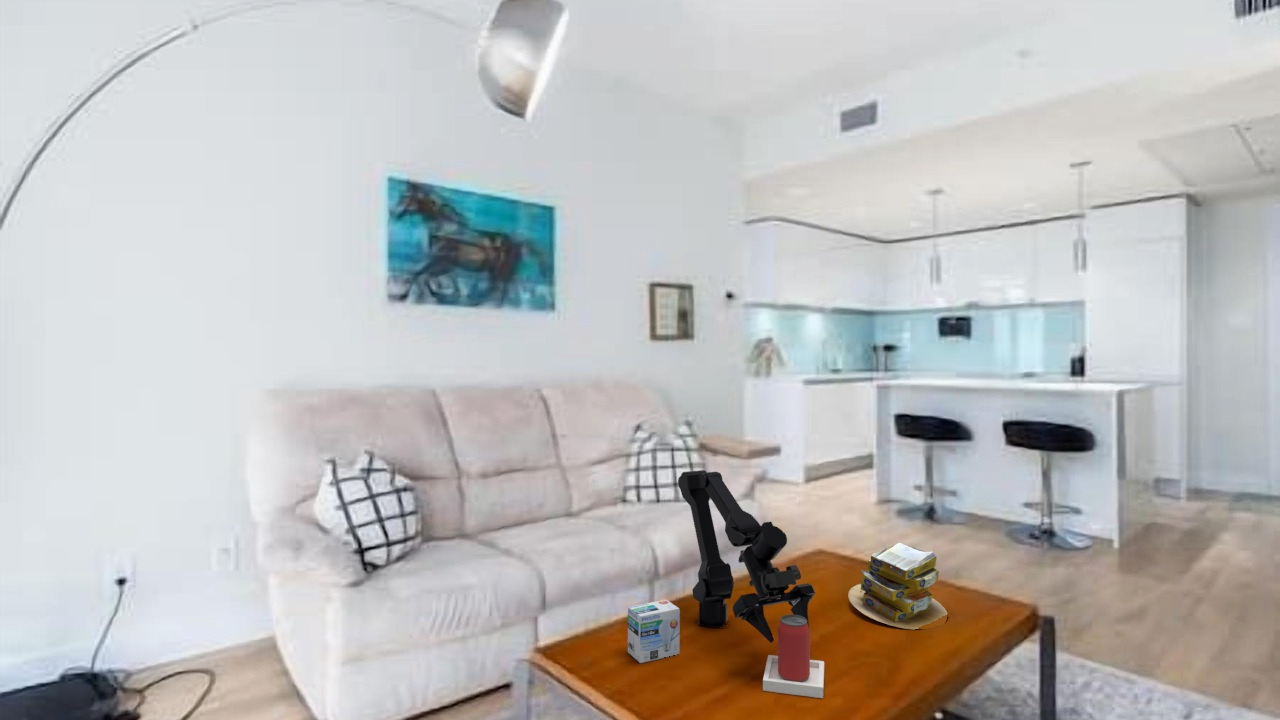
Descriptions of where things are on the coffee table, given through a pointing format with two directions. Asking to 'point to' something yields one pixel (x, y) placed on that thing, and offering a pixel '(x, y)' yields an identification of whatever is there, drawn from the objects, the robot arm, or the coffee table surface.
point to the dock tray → (804, 688)
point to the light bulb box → (653, 630)
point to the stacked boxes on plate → (899, 588)
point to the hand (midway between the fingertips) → (790, 637)
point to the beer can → (793, 648)
